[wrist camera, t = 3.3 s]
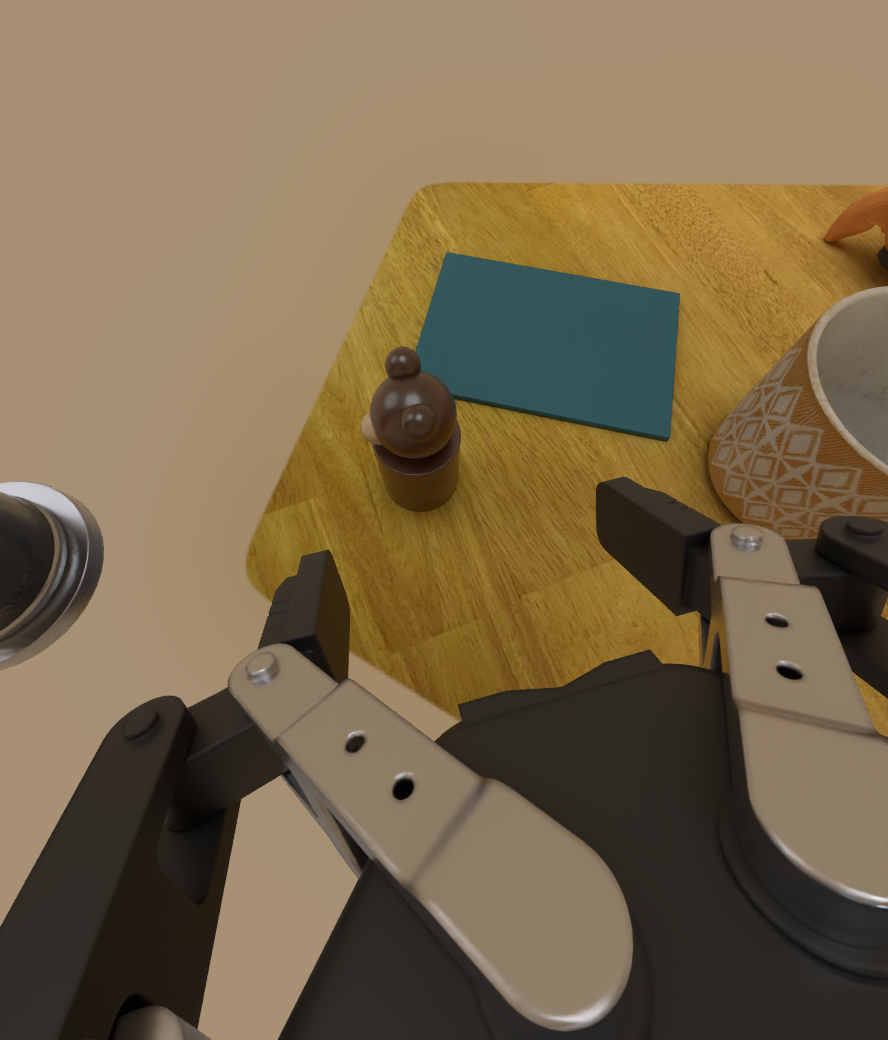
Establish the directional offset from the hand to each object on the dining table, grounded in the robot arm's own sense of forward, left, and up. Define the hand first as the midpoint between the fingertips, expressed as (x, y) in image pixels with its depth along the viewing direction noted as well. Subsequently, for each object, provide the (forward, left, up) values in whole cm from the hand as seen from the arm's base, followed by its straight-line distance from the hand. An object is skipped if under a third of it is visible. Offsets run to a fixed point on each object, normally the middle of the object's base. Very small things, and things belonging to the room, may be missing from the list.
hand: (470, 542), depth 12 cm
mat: (+3, +22, -15) cm, 27 cm away
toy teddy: (-4, +8, -15) cm, 18 cm away
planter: (+21, +14, -16) cm, 30 cm away
